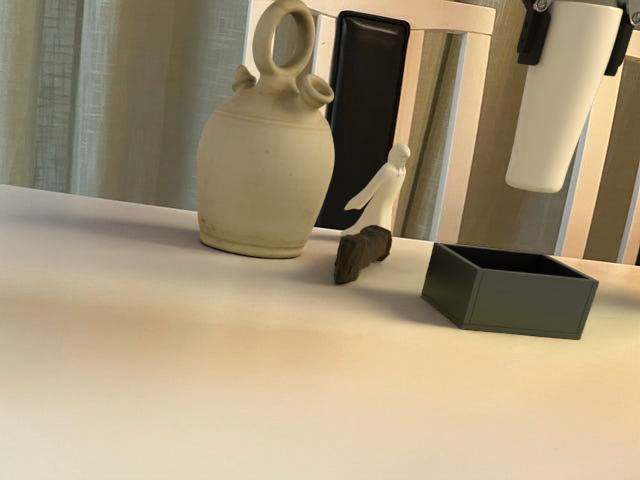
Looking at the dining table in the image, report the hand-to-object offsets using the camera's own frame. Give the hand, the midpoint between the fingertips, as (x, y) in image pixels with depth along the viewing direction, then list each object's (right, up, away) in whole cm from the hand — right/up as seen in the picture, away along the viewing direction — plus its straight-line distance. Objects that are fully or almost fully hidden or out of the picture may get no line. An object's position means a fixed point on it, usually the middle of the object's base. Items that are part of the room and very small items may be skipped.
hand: (566, 68), depth 91 cm
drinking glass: (-1, -9, +6) cm, 10 cm away
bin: (-3, -19, +11) cm, 22 cm away
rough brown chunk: (-14, -11, +22) cm, 28 cm away
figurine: (-10, 0, +39) cm, 41 cm away
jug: (-26, -5, +28) cm, 38 cm away
